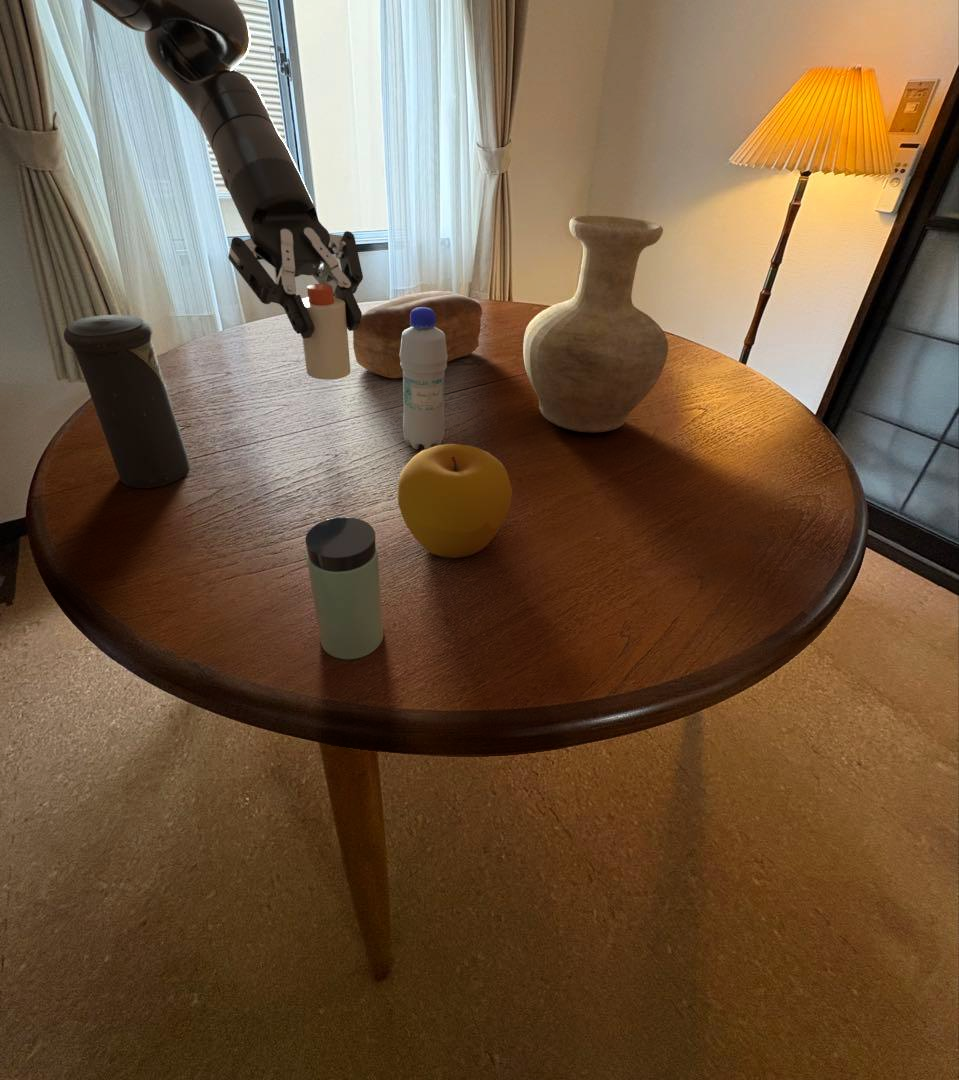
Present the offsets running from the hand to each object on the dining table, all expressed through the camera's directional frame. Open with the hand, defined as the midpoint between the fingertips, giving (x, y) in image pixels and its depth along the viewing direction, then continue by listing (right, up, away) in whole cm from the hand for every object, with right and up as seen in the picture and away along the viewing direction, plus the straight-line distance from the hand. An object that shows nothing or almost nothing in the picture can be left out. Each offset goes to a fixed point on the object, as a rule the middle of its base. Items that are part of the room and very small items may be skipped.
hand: (332, 329), depth 59 cm
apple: (+12, -22, +8) cm, 27 cm away
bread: (+3, +15, +56) cm, 58 cm away
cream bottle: (-2, -3, +4) cm, 6 cm away
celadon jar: (+3, -32, -5) cm, 32 cm away
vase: (+33, -2, +37) cm, 50 cm away
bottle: (+7, -8, +27) cm, 29 cm away
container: (-28, -13, +16) cm, 35 cm away
